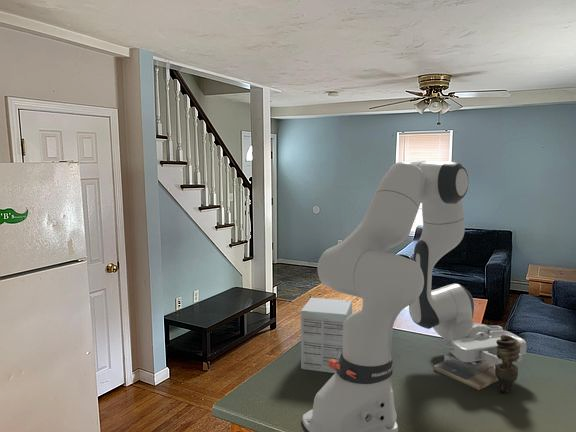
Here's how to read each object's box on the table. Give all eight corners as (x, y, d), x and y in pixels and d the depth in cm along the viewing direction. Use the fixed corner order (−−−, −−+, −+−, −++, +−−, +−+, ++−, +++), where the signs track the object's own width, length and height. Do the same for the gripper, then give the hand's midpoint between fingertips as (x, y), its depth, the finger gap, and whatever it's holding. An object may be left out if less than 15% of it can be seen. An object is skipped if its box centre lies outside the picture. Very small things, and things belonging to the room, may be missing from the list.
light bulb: (497, 384, 115) (499, 330, 113) (520, 391, 112) (523, 335, 110) (491, 393, 111) (494, 336, 109) (514, 400, 107) (518, 342, 106)
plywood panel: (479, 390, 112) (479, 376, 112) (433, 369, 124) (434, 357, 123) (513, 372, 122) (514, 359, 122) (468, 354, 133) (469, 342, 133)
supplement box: (310, 350, 137) (310, 296, 135) (352, 355, 134) (352, 300, 132) (300, 369, 125) (299, 310, 123) (345, 375, 121) (346, 314, 119)
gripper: (441, 332, 120) (475, 353, 106) (503, 324, 125) (543, 343, 112) (440, 354, 120) (474, 377, 107) (502, 345, 126) (541, 367, 112)
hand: (510, 360), depth 109 cm, fingers closed on light bulb, 4 cm apart
